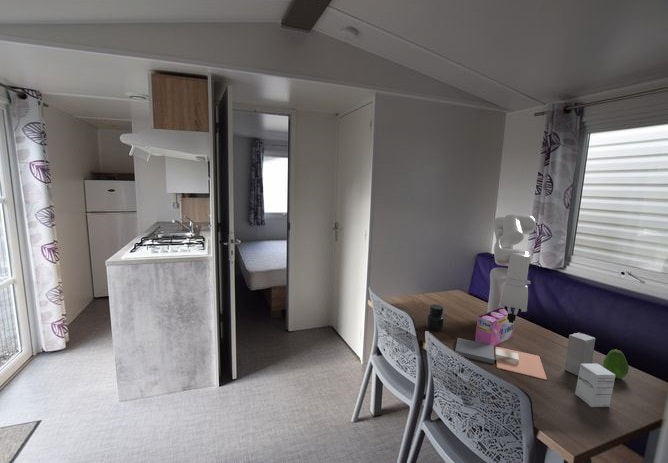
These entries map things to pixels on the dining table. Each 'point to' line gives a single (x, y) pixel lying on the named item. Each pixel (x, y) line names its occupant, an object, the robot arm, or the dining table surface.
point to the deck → (475, 350)
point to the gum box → (494, 327)
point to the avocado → (616, 363)
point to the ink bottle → (435, 318)
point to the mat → (524, 365)
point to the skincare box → (579, 352)
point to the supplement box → (595, 385)
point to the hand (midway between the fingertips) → (510, 321)
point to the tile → (506, 356)
